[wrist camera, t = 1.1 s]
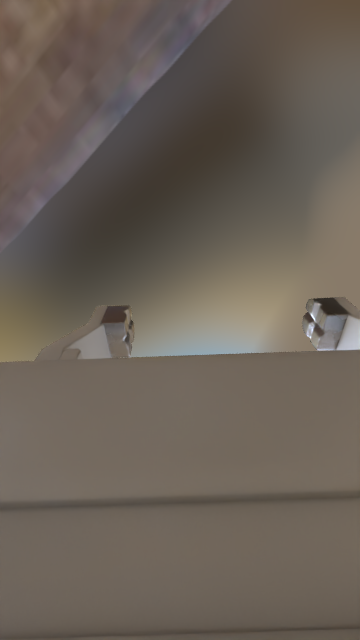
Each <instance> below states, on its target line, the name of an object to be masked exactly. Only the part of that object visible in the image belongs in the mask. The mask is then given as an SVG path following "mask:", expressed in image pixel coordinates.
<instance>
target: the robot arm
mask: <svg viewBox="0 0 360 640" xmlns="http://www.w3.org/2000/svg"><path fill="white" fill-rule="evenodd" d="M306 309H307V311H308V312H307V313H306V314H305V315H304V316H303V321H302V324H303V325H302V326H303V330H304V333H305V334H306V335H307V336H309V337H311V340H310V342H311V343H312V344H313V346H314V347H315V349H316V350H330V351H302V352H276V353H275V352H274V353H247V354H246V353H245V354H216V355H188V356H159V357H132V358H120V357H130V355H131V350H132V344H131V343H132V342H133V340H134V323H133V321H132V320H131V316H132V310H131V306H130V305H121V306H120V305H119V306H97V307H96V309H95V311H94V313H93V315H92V317H91V319H90V321H89V323H88V324H87V325H86V324H85V325H83V326H81V327H79V328H78V329H76V330H74V331H73V332H71V333H69V334H67V335H66V336H64V337H62V338H60V339H59V340H57V341H55V342H53V343H52V344H50V345H49V346H46V347H45V348H43V349H42V350H41V351H40V353H39V354H38V356H37V357H36V359H35V360H34V361H18V362H0V640H360V310H358V309H357V308H356V307H355V306H354V305H353V304H352V303H351V302H349V301H348V300H347V299H346V298H344V297H335V298H317V299H309V300H308V302H307V304H306Z"/></svg>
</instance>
